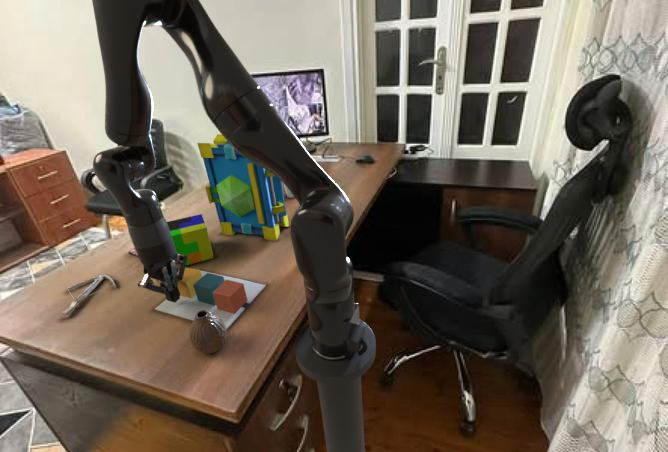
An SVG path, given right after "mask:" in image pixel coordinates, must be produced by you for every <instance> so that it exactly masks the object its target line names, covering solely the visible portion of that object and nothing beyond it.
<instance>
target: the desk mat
mask: <svg viewBox="0 0 668 452" xmlns="http://www.w3.org/2000/svg"><path fill="white" fill-rule="evenodd" d="M200 271H201V274H202V277H203V276H204V275H205V274H207V273H210V274H215V275H219V276H223V277H224V280H230V281H235V282H239V283H243V284H244V288H245V292H246V296H247V301H246V302H245V303H244V305H243V306H242V307H241V308H240V309H239V310H238V311H237V312H236V313H235V314H233V313H229V312H226V311H222V310H219V309H217V306H216V305H211V304H207V303H203V302H200V301H198V298H197V295H195V296H194V297H193V298H192V299H191V298H187V297H183V296H180V299H179V300H178V301H177V302H175V303H174V302H171V301H168V300H167V299H164V301H162V302H161V303H160V304H159V305H157V306H156V307H155V308H154V310H155V311H157V312H158V311H159V312H161V313H165V314H169V315H171V316H175V317H178V318H182V319H185V320H188V321H192V322H193V320H194V319H195V315H196V313H197V312H199V311H201V310H207V311H208V312H209V313H212V314H215V315H217V316H218V317H220V318H221V319H222V321H223V322H224V324H225V327H226V331H227V330H229V328H230V327H231V326H232V324H233V323H234V322H235V321H236V320H237V319H238V318H239V317H240V316H241V315H242V314H243V312H244V311H245V310H246V309H247V308H248V306H249V305H251V304H252V302H253V301H254V300H255V299H256V298H257V297H258V295H260V293H261V292H262V291H263V290H264V289H265V287H266V286H267V285H266V284H264V283H259V282H255V281H249V280H246V279H240V278H236V277H232V276H227V275H223V274H218V273H214V272H210V271H205V270H200Z"/></svg>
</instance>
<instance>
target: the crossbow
mask: <svg viewBox="0 0 668 452" xmlns="http://www.w3.org/2000/svg"><path fill="white" fill-rule="evenodd" d="M105 279H107V280H109V281H110V282H111V283H112V285H110V286H107V287H105V288H103V289H100V290H97V291H96V292H93V293H92V294H90V293H91V292H92V291H93V290H94V289H96V287H97V286H98V285H100V284H101V282H102V281H104V280H105ZM90 282H92V283H91V284H90V285H89V286H87V288H85V289H84V290H83V291H82V292H81V293H80V294H79V295H78V296H77V297H76V298H74V297H73V295H72V293H71V292H70V291H72V290H74V289H76V288H78V287H80V286H83V285H86V284H88V283H90ZM110 287H114V288H116V287H117V285H116V283H115V281H114V280H113V278H112V277H111V276H109V275H107V274H99V275H97V276H94V277H91V278H88V279H85V280H83V281H80V282H77V283H75V284H73V285H71V286H68V287H66V291H67V292H69V294H70V296H71V297H72V299H73V301H72V302H71V304H70V305H69V306H68V307H67V308H66V309H65V310H63V311H61V315H62V317H63V318H69V317H70V316H71V315H72V314H73V313H74V311H75V310H76V308H80V303H81V302H82V301H83V300H84V299H85V298H87V297H90V296H91V295H94V294H97V293H98V292H101V291H103V290H105V289H107V288H110Z"/></svg>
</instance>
